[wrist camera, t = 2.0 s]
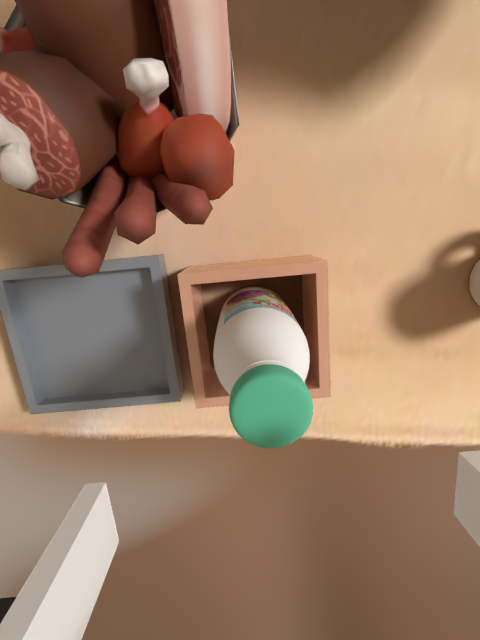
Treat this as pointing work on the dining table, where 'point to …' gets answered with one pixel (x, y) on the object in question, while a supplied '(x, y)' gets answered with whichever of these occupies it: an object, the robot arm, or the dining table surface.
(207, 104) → the bucket of meat
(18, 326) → the tray
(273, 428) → the milk bottle
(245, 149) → the dining table surface
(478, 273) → the cup
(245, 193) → the dining table surface
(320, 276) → the deep holder
